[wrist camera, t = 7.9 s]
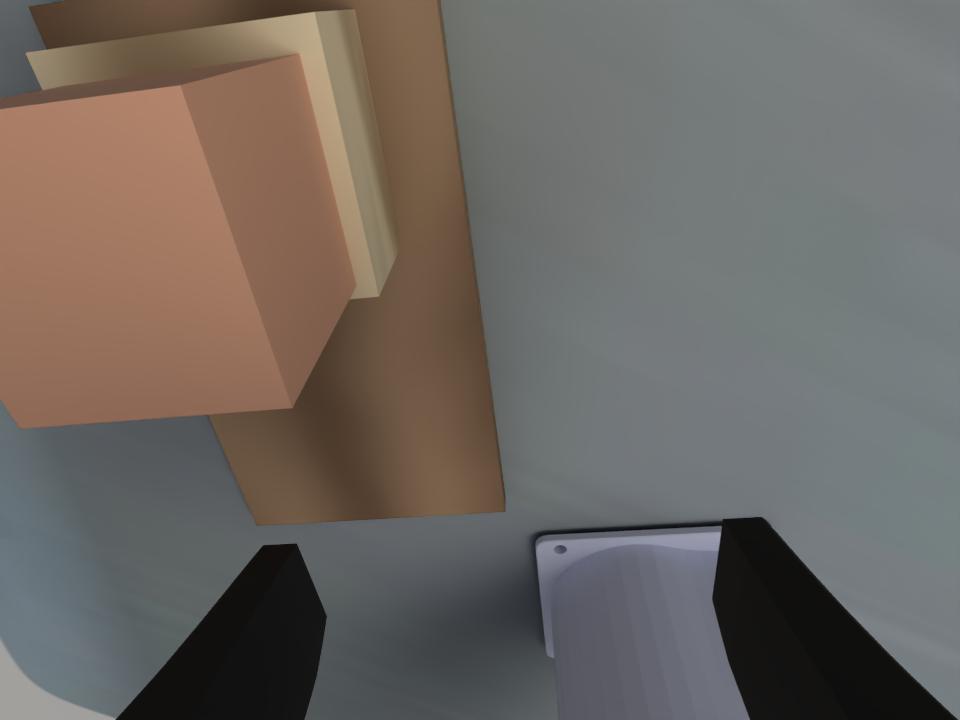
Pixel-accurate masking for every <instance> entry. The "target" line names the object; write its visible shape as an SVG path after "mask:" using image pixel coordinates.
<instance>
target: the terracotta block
mask: <svg viewBox="0 0 960 720" xmlns="http://www.w3.org/2000/svg"><path fill="white" fill-rule="evenodd" d="M356 286H357V285H356V281H355V277H354V272H353V268H352V264H351V260H350V256H349V252H348V248H347V244H346V240H345V236H344V232H343V228H342V224H341V220H340V216H339V212H338V208H337V204H336V199H335V195H334V191H333V187H332V183H331V179H330V175H329V171H328V167H327V163H326V159H325V155H324V151H323V147H322V143H321V139H320V135H319V130H318V126H317V122H316V118H315V114H314V110H313V106H312V102H311V98H310V94H309V90H308V86H307V82H306V78H305V74H304V70H303V66H302V62H301V57H300V54H295V55H287V56H280V57H272V58H265V59H258V60H250V61H243V62H236V63H228V64H221V65H213V66H206V67H199V68H191V69H184V70H177V71H169V72H162V73H155V74H147V75H140V76H132V77H125V78H118V79H110V80H103V81H96V82H88V83H81V84H73V85H66V86H61V87H56V88H50V89H45V90H40V91H35V92H30V93H25V94H20V95H15V96H10V97H4V98H0V399H1V401H2V402H3V404H4V405H5V407H6V408H7V410H8V411H9V413H10V415H11V416H12V418H13V419H14V421H15V422H16V424H17V425H18V427H19V428H20V429H26V428H39V427H52V426H65V425H78V424H91V423H104V422H117V421H131V420H144V419H157V418H170V417H183V416H196V415H209V414H222V413H235V412H248V411H261V410H274V409H287V408H293V406H294V404H295V402H296V400H297V398H298V396H299V395H300V393H301V391H302V389H303V387H304V385H305V383H306V381H307V379H308V377H309V376H310V374H311V372H312V370H313V368H314V366H315V364H316V362H317V360H318V358H319V357H320V355H321V353H322V351H323V349H324V347H325V345H326V343H327V341H328V339H329V338H330V336H331V334H332V332H333V330H334V328H335V326H336V324H337V322H338V320H339V319H340V317H341V315H342V313H343V311H344V309H345V307H346V305H347V303H348V301H349V299H350V298H351V296H352V294H353V292H354V290H355V288H356Z"/></svg>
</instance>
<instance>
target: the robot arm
mask: <svg viewBox="0 0 960 720" xmlns="http://www.w3.org/2000/svg"><path fill="white" fill-rule="evenodd" d="M559 545H563V546H559ZM535 547H536V558H537V568H538V578H539V587H540V597H541V607H542V617H543V627H544V636H545V646H546V653H547V655H548V656H549V657H551V658H553V659H554V662H555V676H556V690H557V704H558V718H559V720H958V719H957V718H956V717H955V716H953V715H952V714H951V713H950V712H949V711H948V710H947V709H946V708H945V707H944V706H943V705H942V704H941V703H940V702H938V701H937V700H936V699H935V698H934V697H933V696H932V695H931V694H930V693H929V692H928V691H927V690H926V689H925V688H924V687H923V686H922V685H921V684H920V683H918V682H917V681H916V680H915V679H914V678H913V677H912V676H911V675H910V674H909V673H908V672H907V671H906V670H905V669H904V668H903V667H902V666H901V665H900V664H899V663H898V662H897V661H896V660H895V659H894V658H893V657H892V656H891V655H890V654H889V653H888V652H887V651H886V650H885V649H884V648H883V647H882V646H881V645H880V644H879V643H878V642H877V641H876V640H875V639H874V638H873V637H872V636H871V635H870V634H869V633H868V632H867V631H866V630H865V629H864V628H863V627H862V625H861V624H860V623H859V622H858V621H857V620H856V619H855V618H854V617H853V616H852V615H851V614H850V613H849V612H848V611H847V610H846V609H845V608H844V607H843V606H842V605H841V604H840V603H839V601H838V600H837V599H836V598H835V597H834V596H833V595H832V594H831V593H830V592H829V591H828V590H827V589H826V587H825V586H824V585H823V584H822V583H821V582H820V581H819V580H818V579H817V578H816V576H815V575H814V574H813V573H812V572H811V571H810V570H809V569H808V568H807V566H806V565H805V564H804V563H803V562H802V561H801V560H800V559H799V557H798V556H797V555H796V554H795V553H794V552H793V551H792V549H791V548H790V547H789V546H788V545H787V544H786V543H785V541H784V540H783V539H782V538H781V537H780V536H779V535H778V533H777V532H776V531H775V529H774V528H773V526H771V525H770V524H769V523H768V522H767V521H766V520H765V519H763V518H762V517H755V518H737V519H723V522H722V526H709V527H690V528H671V529H652V530H633V531H614V532H595V533H576V534H557V535H544V536H541V537H539V538H538V539H537V540H536V544H535ZM326 618H327V615H326V613H325V611H324V608H323V606H322V603H321V601H320V599H319V596H318V594H317V591H316V589H315V586H314V584H313V582H312V579H311V577H310V574H309V572H308V570H307V567H306V565H305V562H304V560H303V557H302V555H301V553H300V550H299V548H298V545H297V544H280V545H263V546H262V548H261V549H260V550H259V551H258V552H257V553H256V555H255V556H254V557H253V558H252V559H251V561H250V562H249V563H248V564H247V565H246V567H245V568H244V569H243V570H242V572H241V573H240V574H239V575H238V577H237V578H236V579H235V580H234V582H233V583H232V584H231V585H230V587H229V588H228V589H227V590H226V591H225V593H224V594H223V595H222V596H221V598H220V599H219V600H218V601H217V603H216V604H215V605H214V606H213V607H212V609H211V610H210V611H209V612H208V614H207V615H206V616H205V617H204V619H203V620H202V621H201V622H200V623H199V625H198V626H197V627H196V628H195V629H194V631H193V632H192V633H191V634H190V635H189V637H188V638H187V639H186V640H185V641H184V642H183V644H182V645H181V646H180V647H179V648H178V650H177V651H176V652H175V653H174V654H173V656H172V657H171V658H170V659H169V660H168V662H167V663H166V664H165V665H164V666H163V667H162V669H161V670H160V671H159V672H158V673H157V674H156V675H155V677H154V678H153V679H152V680H151V681H150V682H149V683H148V684H147V686H146V687H145V688H144V689H143V690H142V691H141V692H140V693H139V694H138V695H137V697H136V698H135V699H134V700H133V701H132V702H131V703H130V704H129V705H128V707H127V708H126V709H125V710H124V711H123V712H122V713H121V714H120V715H119V717H118V718H117V719H116V720H304V719H305V716H306V712H307V709H308V705H309V702H310V698H311V695H312V691H313V688H314V684H315V680H316V677H317V671H318V666H319V660H320V655H321V650H322V643H323V637H324V631H325V625H326Z"/></svg>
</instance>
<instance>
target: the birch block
mask: <svg viewBox="0 0 960 720" xmlns="http://www.w3.org/2000/svg"><path fill="white" fill-rule="evenodd" d="M295 54H300V57H301V62H302V66H303V70H304V74H305V78H306V82H307V86H308V90H309V94H310V98H311V102H312V106H313V110H314V114H315V118H316V122H317V126H318V130H319V135H320V139H321V143H322V147H323V151H324V155H325V159H326V163H327V167H328V171H329V175H330V179H331V183H332V187H333V191H334V195H335V199H336V204H337V208H338V212H339V216H340V220H341V224H342V228H343V232H344V236H345V240H346V244H347V248H348V252H349V256H350V260H351V264H352V268H353V272H354V277H355V281H356V285H357V286H356V288H355V290H354V292H353V294H352V296H351V298H350V299H359V298H370V297H379V296H380V293H381V291H382V289H383V286H384V284H385V282H386V279H387V277H388V275H389V272H390V270H391V268H392V265H393V263H394V261H395V258H396V256H397V254H398V252H399V249H400V247H401V242H400V237H399V232H398V227H397V222H396V217H395V212H394V207H393V201H392V196H391V191H390V186H389V181H388V176H387V171H386V166H385V161H384V156H383V151H382V145H381V140H380V135H379V130H378V125H377V120H376V115H375V110H374V105H373V100H372V94H371V89H370V84H369V79H368V74H367V69H366V64H365V59H364V54H363V49H362V44H361V38H360V33H359V28H358V23H357V18H356V13H355V9H350V10H335V11H319V12H310V13H303V14H296V15H288V16H281V17H274V18H267V19H260V20H253V21H246V22H239V23H232V24H225V25H218V26H211V27H204V28H197V29H189V30H182V31H175V32H168V33H161V34H154V35H147V36H140V37H133V38H126V39H119V40H112V41H105V42H97V43H90V44H83V45H76V46H69V47H62V48H55V49H48V50H41V51H34V52H27V53H26V55H27V58H28V60H29V62H30V64H31V66H32V68H33V71H34V73H35V75H36V77H37V79H38V82H39V84H40V86H41V88H42V90H45V89H50V88H56V87H61V86H66V85H73V84H81V83H88V82H96V81H103V80H110V79H118V78H125V77H132V76H140V75H147V74H155V73H162V72H169V71H177V70H184V69H191V68H199V67H206V66H213V65H221V64H228V63H236V62H243V61H250V60H258V59H265V58H272V57H280V56H287V55H295Z"/></svg>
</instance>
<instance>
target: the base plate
mask: <svg viewBox="0 0 960 720" xmlns="http://www.w3.org/2000/svg"><path fill="white" fill-rule="evenodd" d="M29 9H30V11H31V14H32V16H33V18H34V20H35V23H36V25H37V27H38V30H39V32H40V34H41V36H42V39H43V41H44V43H45V45H46V48H47V50H48V49H55V48H62V47H69V46H76V45H83V44H90V43H97V42H105V41H112V40H119V39H126V38H133V37H140V36H147V35H154V34H161V33H168V32H175V31H182V30H189V29H197V28H204V27H211V26H218V25H225V24H232V23H239V22H246V21H253V20H260V19H267V18H274V17H281V16H288V15H296V14H303V13H310V12H319V11H335V10H350V9H355V13H356V18H357V23H358V28H359V33H360V38H361V44H362V49H363V54H364V59H365V64H366V69H367V74H368V79H369V84H370V89H371V94H372V100H373V105H374V110H375V115H376V120H377V125H378V130H379V135H380V140H381V145H382V151H383V156H384V161H385V166H386V171H387V176H388V181H389V186H390V191H391V196H392V201H393V207H394V212H395V217H396V222H397V227H398V232H399V237H400V242H401V247H400V249H399V252H398V254H397V256H396V258H395V261H394V263H393V265H392V268H391V270H390V272H389V275H388V277H387V279H386V282H385V284H384V286H383V289H382V291H381V293H380V296H379V297H370V298H359V299H349V301H348V303H347V305H346V307H345V309H344V311H343V313H342V315H341V317H340V319H339V320H338V322H337V324H336V326H335V328H334V330H333V332H332V334H331V336H330V338H329V339H328V341H327V343H326V345H325V347H324V349H323V351H322V353H321V355H320V357H319V358H318V360H317V362H316V364H315V366H314V368H313V370H312V372H311V374H310V376H309V377H308V379H307V381H306V383H305V385H304V387H303V389H302V391H301V393H300V395H299V396H298V398H297V400H296V402H295V404H294V406H293V408H287V409H274V410H261V411H248V412H235V413H222V414H209V415H208V416H209V418H210V421H211V423H212V425H213V428H214V430H215V432H216V434H217V437H218V439H219V441H220V443H221V446H222V448H223V450H224V453H225V455H226V457H227V459H228V462H229V464H230V466H231V468H232V471H233V473H234V475H235V478H236V480H237V482H238V484H239V487H240V489H241V491H242V493H243V496H244V498H245V500H246V503H247V505H248V507H249V509H250V512H251V514H252V516H253V519H254V521H255V523H256V525H257V526H264V525H281V524H299V523H317V522H334V521H352V520H370V519H387V518H405V517H423V516H440V515H458V514H476V513H494V512H505V490H504V482H503V475H502V467H501V460H500V452H499V444H498V437H497V429H496V422H495V414H494V406H493V399H492V391H491V384H490V376H489V368H488V361H487V353H486V346H485V338H484V330H483V323H482V315H481V308H480V300H479V292H478V285H477V277H476V270H475V262H474V254H473V247H472V239H471V231H470V224H469V216H468V209H467V201H466V193H465V186H464V178H463V171H462V163H461V155H460V148H459V140H458V133H457V125H456V117H455V110H454V102H453V95H452V87H451V79H450V72H449V64H448V57H447V49H446V41H445V34H444V26H443V19H442V11H441V3H440V0H71V1H64V2H57V3H51V4H44V5H37V6H30V7H29Z"/></svg>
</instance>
